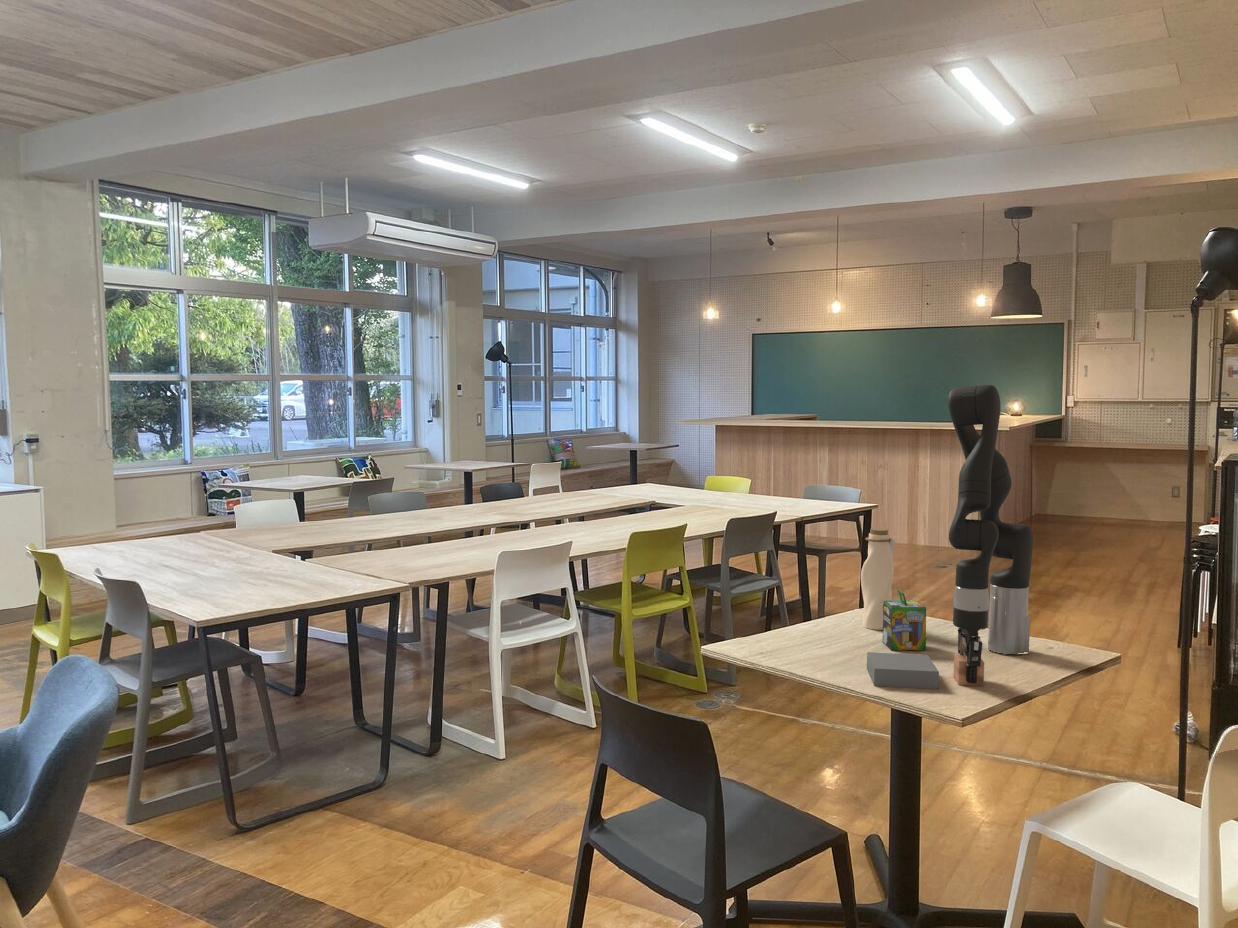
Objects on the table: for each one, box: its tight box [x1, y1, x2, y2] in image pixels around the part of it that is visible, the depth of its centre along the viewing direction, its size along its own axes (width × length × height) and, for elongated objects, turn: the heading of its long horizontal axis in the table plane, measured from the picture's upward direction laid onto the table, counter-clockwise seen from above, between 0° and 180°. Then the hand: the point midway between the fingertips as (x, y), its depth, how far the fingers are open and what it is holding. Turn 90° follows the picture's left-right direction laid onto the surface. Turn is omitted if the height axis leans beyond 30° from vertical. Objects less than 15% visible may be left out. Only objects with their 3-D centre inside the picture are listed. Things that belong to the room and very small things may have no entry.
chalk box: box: [882, 589, 927, 651], centre depth 248 cm, size 9×9×15 cm
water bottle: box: [860, 527, 896, 631], centre depth 270 cm, size 10×9×28 cm
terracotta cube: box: [952, 654, 985, 687], centre depth 217 cm, size 6×6×6 cm
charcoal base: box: [866, 651, 940, 690], centre depth 220 cm, size 14×14×4 cm
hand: (968, 678), depth 218 cm, fingers closed on terracotta cube, 5 cm apart
